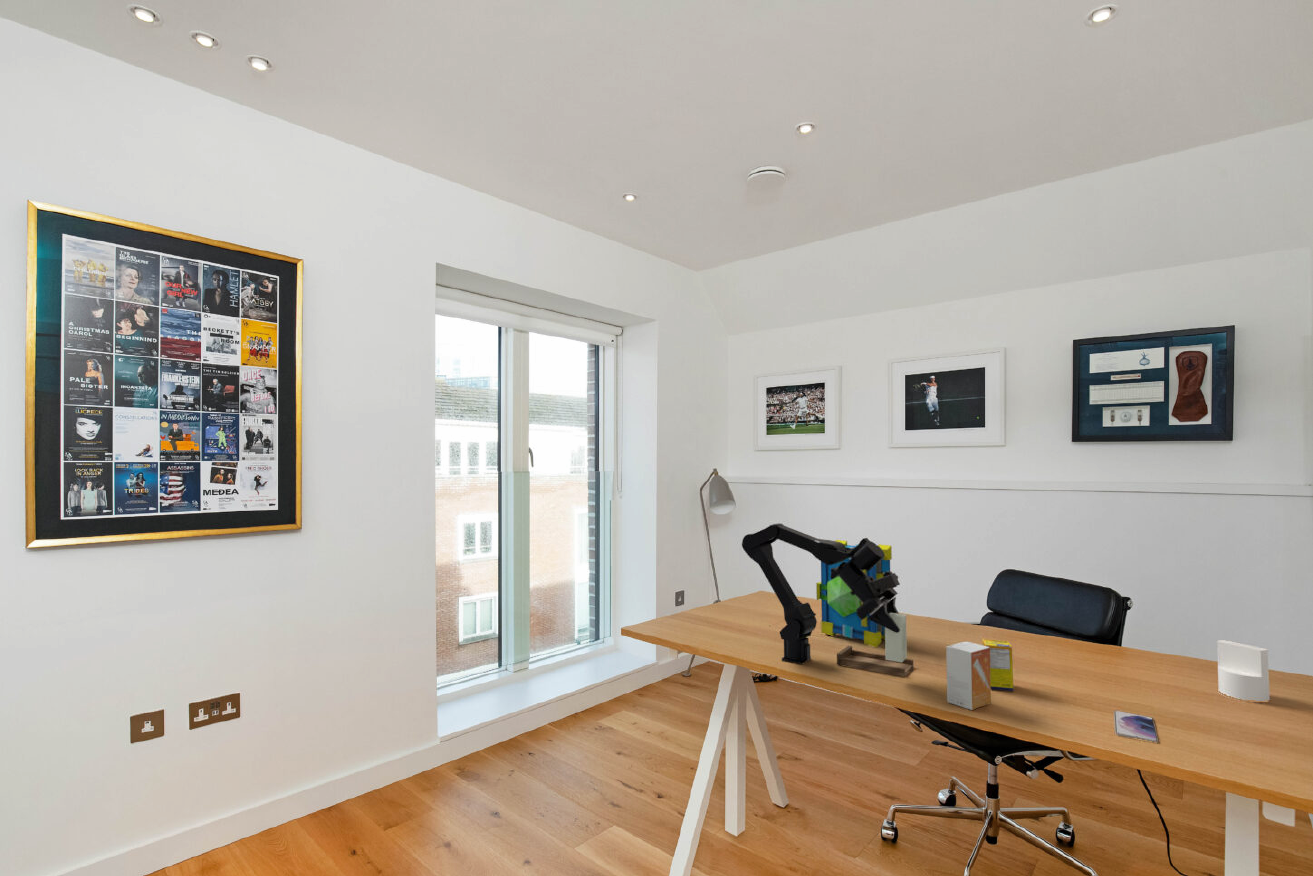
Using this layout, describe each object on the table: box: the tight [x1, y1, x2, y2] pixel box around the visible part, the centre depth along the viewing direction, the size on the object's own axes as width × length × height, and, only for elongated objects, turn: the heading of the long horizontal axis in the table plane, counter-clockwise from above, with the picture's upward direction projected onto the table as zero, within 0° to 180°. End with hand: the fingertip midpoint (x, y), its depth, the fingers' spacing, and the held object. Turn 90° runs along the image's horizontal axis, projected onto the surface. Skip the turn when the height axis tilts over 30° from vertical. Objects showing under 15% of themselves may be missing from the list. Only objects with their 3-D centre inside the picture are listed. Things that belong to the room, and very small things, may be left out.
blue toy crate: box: [815, 539, 893, 648], centre depth 204 cm, size 14×23×30 cm, turn 40°
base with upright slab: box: [1216, 639, 1271, 701], centre depth 152 cm, size 9×9×12 cm
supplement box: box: [981, 638, 1014, 692], centre depth 159 cm, size 6×6×11 cm
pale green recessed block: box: [884, 612, 908, 662], centre depth 164 cm, size 4×5×11 cm
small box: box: [945, 641, 992, 711], centre depth 149 cm, size 8×6×13 cm
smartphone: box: [1113, 710, 1159, 743], centre depth 135 cm, size 7×1×15 cm
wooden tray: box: [836, 645, 914, 678], centre depth 176 cm, size 18×10×3 cm, turn 55°
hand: (901, 629), depth 163 cm, fingers closed on pale green recessed block, 5 cm apart
